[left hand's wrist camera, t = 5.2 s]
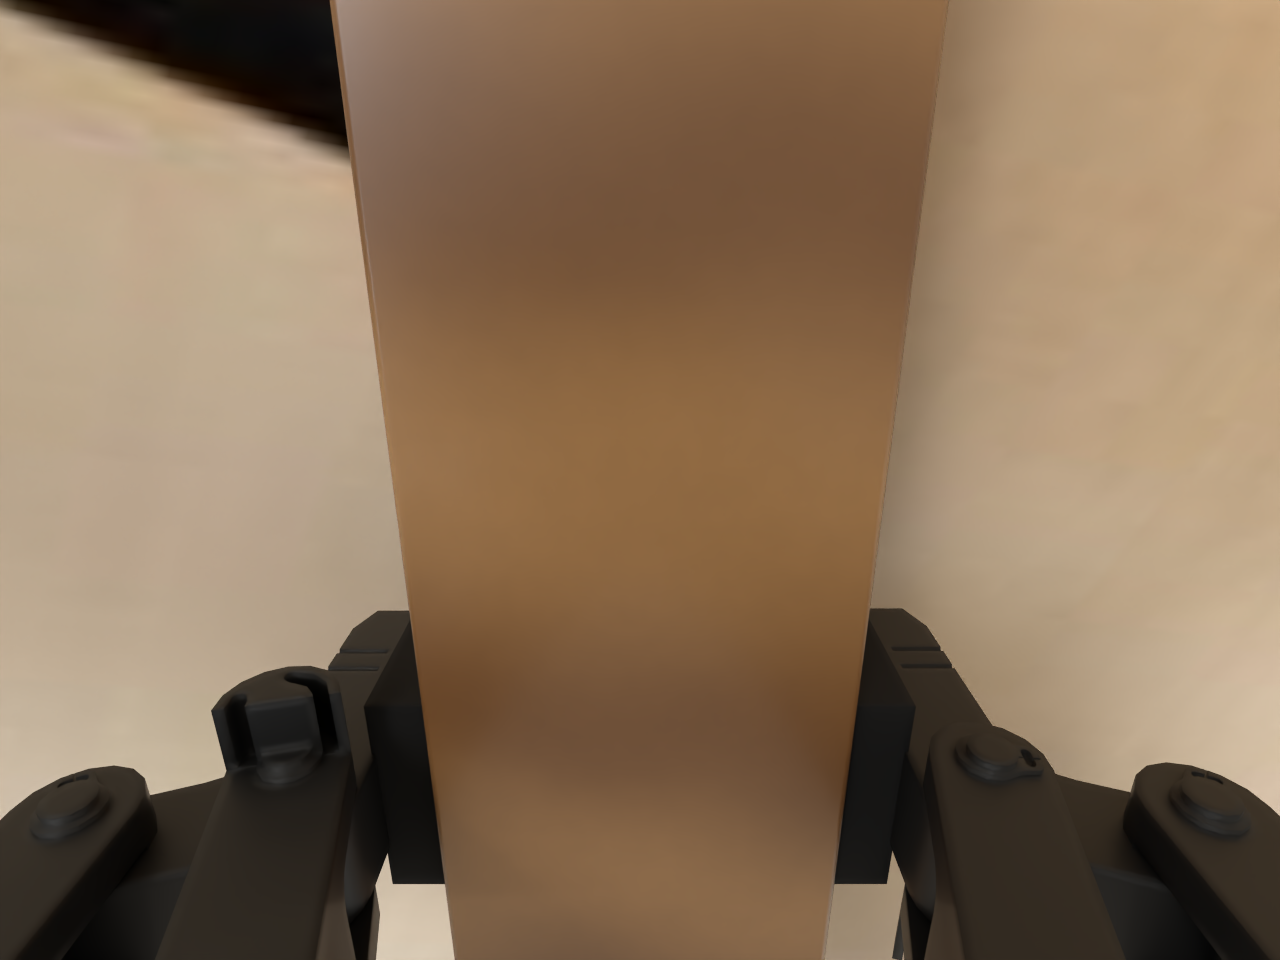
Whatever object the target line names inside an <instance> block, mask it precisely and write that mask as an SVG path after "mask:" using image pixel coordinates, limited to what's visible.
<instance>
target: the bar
mask: <svg viewBox="0 0 1280 960" xmlns="http://www.w3.org/2000/svg"><path fill="white" fill-rule="evenodd" d="M948 3H949V0H330V6H331V14H332V22H333V29H334V37H335V45H336V52H337V60H338V68H339V75H340V83H341V91H342V98H343V106H344V114H345V121H346V129H347V137H348V144H349V152H350V160H351V167H352V175H353V183H354V190H355V198H356V206H357V213H358V221H359V229H360V236H361V244H362V252H363V259H364V267H365V275H366V282H367V290H368V298H369V305H370V313H371V321H372V328H373V336H374V344H375V351H376V359H377V367H378V374H379V382H380V390H381V397H382V405H383V413H384V420H385V428H386V436H387V443H388V451H389V459H390V466H391V474H392V482H393V489H394V497H395V505H396V512H397V520H398V528H399V535H400V543H401V551H402V558H403V566H404V574H405V581H406V589H407V597H408V604H409V612H410V620H411V627H412V635H413V643H414V650H415V658H416V666H417V673H418V681H419V689H420V696H421V704H422V712H423V719H424V727H425V735H426V742H427V750H428V758H429V765H430V773H431V781H432V788H433V796H434V804H435V811H436V819H437V827H438V834H439V842H440V850H441V857H442V865H443V873H444V880H445V888H446V896H447V903H448V911H449V919H450V926H451V934H452V942H453V949H454V957H455V960H824V958H825V950H826V942H827V935H828V927H829V919H830V912H831V904H832V896H833V888H834V881H835V873H836V865H837V858H838V850H839V842H840V835H841V827H842V819H843V811H844V804H845V796H846V788H847V781H848V773H849V765H850V758H851V750H852V742H853V734H854V727H855V719H856V711H857V704H858V696H859V688H860V680H861V673H862V665H863V657H864V650H865V642H866V634H867V627H868V619H869V611H870V603H871V596H872V588H873V580H874V573H875V565H876V557H877V550H878V542H879V534H880V526H881V519H882V511H883V503H884V496H885V488H886V480H887V473H888V465H889V457H890V449H891V442H892V434H893V426H894V419H895V411H896V403H897V396H898V388H899V380H900V372H901V365H902V357H903V349H904V342H905V334H906V326H907V318H908V311H909V303H910V295H911V288H912V280H913V272H914V265H915V257H916V249H917V241H918V234H919V226H920V218H921V211H922V203H923V195H924V188H925V180H926V172H927V164H928V157H929V149H930V141H931V134H932V126H933V118H934V111H935V103H936V95H937V87H938V80H939V72H940V64H941V57H942V49H943V41H944V34H945V26H946V18H947V10H948Z"/></svg>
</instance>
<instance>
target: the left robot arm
mask: <svg viewBox="0 0 1280 960" xmlns="http://www.w3.org/2000/svg"><path fill="white" fill-rule="evenodd" d="M211 712H212V716H213V720H214V724H215V728H216V731H217V735H218V739H219V743H220V747H221V751H222V755H223V759H224V763H225V766H226V770H227V771H226V774H225V776H224V777H223V778H220V779H216V780H213V781H210V782H206V783H203V784H198V785H194V786H190V787H185V788H181V789H176V790H172V791H167V792H163V793H159V794H154V795H150V794H149V791H148V788H147V784H146V781H145V778H144V777H143V776H141V775H140V774H139V773H138V772H137V771H135V770H134V769H131V768H125V767H119V766H107V767H99V768H92V769H87V770H84V771H81V772H77V773H75V774H71V775H69V776H66V777H63V778H60V779H58V780H56V781H54V782H53V783H51V784H49V785H47V786H45V787H43V788H41V789H39V790H37V791H35V792H34V793H32V794H31V795H30V796H28V797H27V798H26V799H24V800H23V801H22V802H21V803H19V804H18V805H17V806H16V807H14V808H13V809H12V810H10V811H9V812H8V813H7V814H6V815H5V816H4V817H3V818H2V819H1V820H0V960H376V952H377V941H378V930H379V919H380V912H379V905H378V898H377V893H376V887H375V884H376V882H377V879H378V876H379V874H380V871H381V869H382V866H383V863H384V861H385V858H386V856H387V853H388V857H389V864H390V870H391V876H392V882H393V884H445V880H444V873H443V865H442V857H441V850H440V842H439V834H438V827H437V819H436V811H435V804H434V796H433V788H432V781H431V773H430V765H429V758H428V750H427V742H426V735H425V727H424V719H423V712H422V704H421V696H420V689H419V681H418V673H417V666H416V658H415V650H414V643H413V635H412V627H411V620H410V612H409V611H377V612H376V613H374V614H373V615H371V616H370V617H369V618H367V619H366V620H365V621H363V622H362V623H360V624H359V625H358V626H356V627H355V628H354V629H353V630H352V631H351V633H350V634H349V636H348V637H347V639H346V641H345V642H344V644H343V645H342V647H341V648H340V653H339V654H336V656H335V657H334V659H333V660H332V662H331V663H330V665H329V666H328V670H324V669H320V668H316V667H312V666H293V667H285V668H280V669H276V670H272V671H267V672H264V673H261V674H259V675H257V676H255V677H252V678H250V679H248V680H245V681H243V682H241V683H240V684H238V685H237V686H235V687H234V688H233V689H231V690H230V691H228V692H227V693H226V694H224V695H223V696H222V697H221V698H220V700H219V701H218V702H217V704H216V705H215V706H214V708H213V709H212V710H211ZM892 850H893V853H894V856H895V858H896V861H897V863H898V866H899V869H900V871H901V874H902V876H903V879H904V882H905V887H904V893H903V898H902V904H901V910H900V915H899V921H898V926H897V932H896V938H895V944H894V950H893V957H892V958H893V959H898V960H902V957H903V951H904V960H1280V816H1279V815H1278V814H1277V813H1276V812H1275V811H1274V810H1273V809H1272V808H1271V807H1269V806H1268V805H1267V804H1266V803H1264V802H1263V801H1262V800H1260V799H1259V798H1258V797H1257V796H1255V795H1254V794H1253V793H1251V792H1250V791H1249V790H1248V789H1246V788H1244V787H1242V786H1240V785H1238V784H1236V783H1234V782H1232V781H1230V780H1229V779H1227V778H1225V777H1223V776H1221V775H1218V774H1215V773H1213V772H1210V771H1206V770H1204V769H1200V768H1197V767H1194V766H1190V765H1182V764H1174V763H1160V764H1154V765H1148V766H1146V767H1145V768H1144V769H1142V770H1141V771H1140V772H1139V773H1138V774H1136V776H1135V779H1134V783H1133V786H1132V789H1131V792H1126V791H1122V790H1117V789H1113V788H1108V787H1104V786H1099V785H1095V784H1091V783H1086V782H1082V781H1077V780H1074V779H1070V778H1067V777H1064V776H1060V775H1057V774H1055V772H1054V770H1053V768H1052V767H1051V765H1050V764H1049V762H1048V761H1047V759H1046V758H1045V756H1044V755H1043V753H1041V752H1040V751H1039V750H1038V749H1036V748H1035V747H1034V746H1033V745H1031V744H1030V743H1029V742H1028V741H1027V740H1025V739H1023V738H1021V737H1019V736H1017V735H1015V734H1013V733H1011V732H1009V731H1007V730H1005V729H1003V728H999V727H995V726H992V724H991V723H990V721H989V720H988V718H987V717H986V715H985V714H984V712H983V711H982V709H981V708H980V706H979V705H978V703H977V702H976V700H975V699H974V697H973V696H972V694H971V693H970V691H969V690H968V688H967V687H966V685H965V684H964V682H963V680H962V679H961V677H960V676H959V674H958V673H957V671H956V670H955V668H952V664H951V662H950V661H949V659H948V658H947V656H946V655H945V653H944V652H943V651H941V650H940V646H939V644H938V643H937V641H936V640H935V638H934V637H933V635H932V634H931V632H930V630H929V629H928V627H927V626H926V625H924V624H923V623H921V622H920V621H919V620H917V619H916V618H915V617H913V616H912V615H910V614H909V613H908V612H906V611H905V610H903V609H870V611H869V619H868V627H867V634H866V642H865V650H864V657H863V665H862V673H861V680H860V688H859V696H858V704H857V711H856V719H855V727H854V734H853V742H852V750H851V758H850V765H849V773H848V781H847V788H846V796H845V804H844V811H843V819H842V827H841V835H840V842H839V850H838V858H837V865H836V873H835V881H834V884H887V879H888V873H889V867H890V861H891V855H892Z"/></svg>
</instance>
